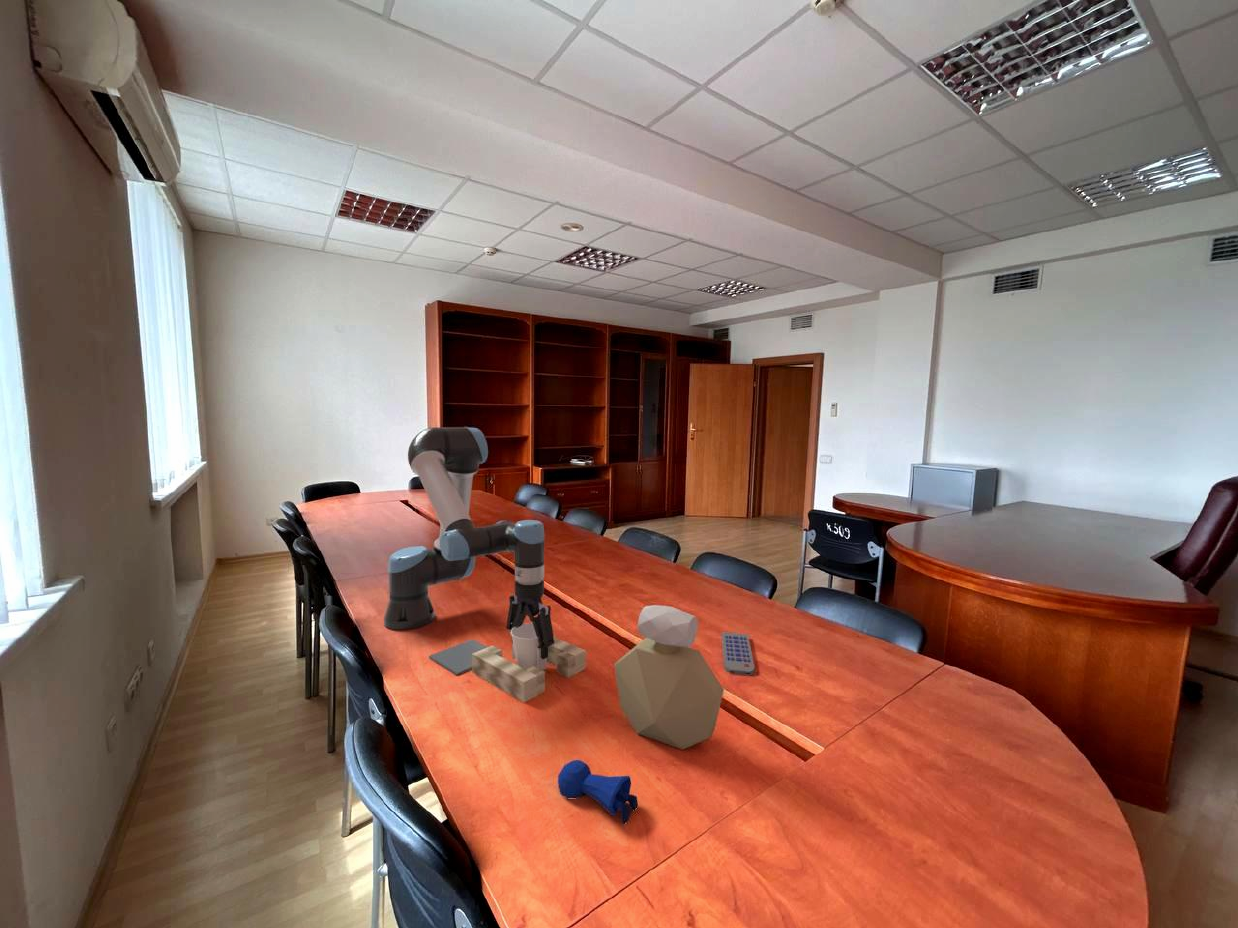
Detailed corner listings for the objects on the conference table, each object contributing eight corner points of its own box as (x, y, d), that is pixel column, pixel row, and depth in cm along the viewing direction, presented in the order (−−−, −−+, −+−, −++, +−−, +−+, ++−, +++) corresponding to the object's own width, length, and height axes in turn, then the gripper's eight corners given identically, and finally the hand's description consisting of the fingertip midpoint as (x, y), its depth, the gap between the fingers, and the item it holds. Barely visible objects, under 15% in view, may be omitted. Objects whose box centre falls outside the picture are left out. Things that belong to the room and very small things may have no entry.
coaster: (428, 657, 135) (428, 655, 135) (472, 640, 146) (472, 638, 146) (457, 675, 126) (457, 673, 126) (501, 655, 137) (501, 653, 137)
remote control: (747, 640, 151) (748, 633, 150) (755, 677, 128) (755, 669, 128) (721, 637, 152) (721, 630, 152) (724, 674, 130) (724, 666, 130)
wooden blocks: (472, 672, 128) (472, 653, 127) (533, 644, 144) (533, 628, 144) (524, 702, 115) (524, 682, 114) (585, 668, 131) (585, 650, 130)
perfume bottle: (710, 771, 93) (715, 630, 91) (602, 730, 105) (604, 604, 102) (728, 735, 104) (733, 608, 101) (628, 702, 115) (631, 587, 113)
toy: (640, 806, 85) (572, 770, 93) (642, 774, 85) (573, 740, 92) (620, 834, 80) (549, 793, 87) (622, 799, 79) (550, 761, 87)
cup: (540, 682, 123) (540, 640, 122) (504, 677, 125) (504, 636, 124) (553, 663, 133) (553, 624, 132) (519, 659, 135) (519, 620, 134)
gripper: (492, 574, 131) (492, 654, 133) (547, 594, 117) (546, 683, 119) (514, 568, 137) (514, 645, 139) (569, 586, 123) (568, 671, 125)
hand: (529, 662), depth 129 cm, fingers closed on cup, 9 cm apart
